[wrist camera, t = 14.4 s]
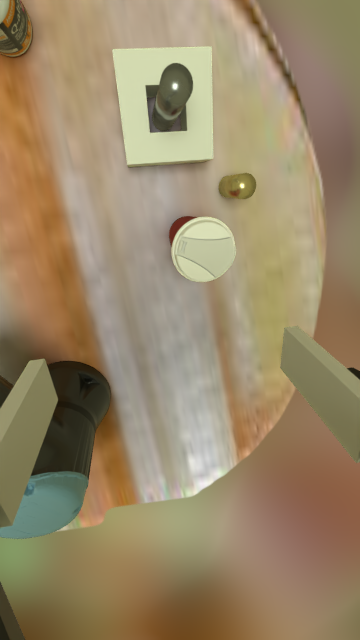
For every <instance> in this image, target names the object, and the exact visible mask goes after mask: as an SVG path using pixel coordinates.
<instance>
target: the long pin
mask: <svg viewBox="0 0 360 640" xmlns="http://www.w3.org/2000/svg"><path fill="white" fill-rule="evenodd" d="M192 91H193V79H192V75H191V73H190V71H189V70H188V69H187V68H186V67H185V66H184V65H182V64H180V63H172V64H170V65H168V66H167V67H166V68H165V69H164V71H163V73H162V75H161V79H160V83H159V87H158V92H157V96H156V100H155V105H154V109H153V113H152V121H153V124H154V126H155V127H156V128H157V129H158V130H160V131H167V130H169V129H170V128H171V127H172V126H173V124H174V122H175V121H176V119H177V118H178V116H179V114H180V113H181V111H182V109H183V108H184V106H185V104H186V103H187V101H188V99H189V98H190V96H191V94H192Z"/></svg>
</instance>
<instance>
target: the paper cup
mask: <svg viewBox="0 0 360 640" xmlns="http://www.w3.org/2000/svg"><path fill="white" fill-rule="evenodd" d="M169 239H170V243H171V247H172V251H171V253H172V259H173V263H174V265H175V267H176V269H177V270H178V272H179V273H180V274H181V275H182V276H184V277H185V278H187V279H189V280H191V281H194V282H208V281H212V280H214V279H216V278H218V277H220V276H221V275H222V274H223V273H225V272H226V271H227V270H228V269H229V267H230V266H231V265H232V263H233V261H234V258H235V255H236V247H235V241H234V237H233V234H232V233H231V231H230V229H229V228H228V227H227V226H226V225H225V224H224V223H223V222H221V221H220V220H218V219H215V218H212V217H198V218H197V217H190V216H186V217H181V218H179V219H177V220H176V221H175V222H174V223H173V225H172V226H171V228H170V232H169Z"/></svg>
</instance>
